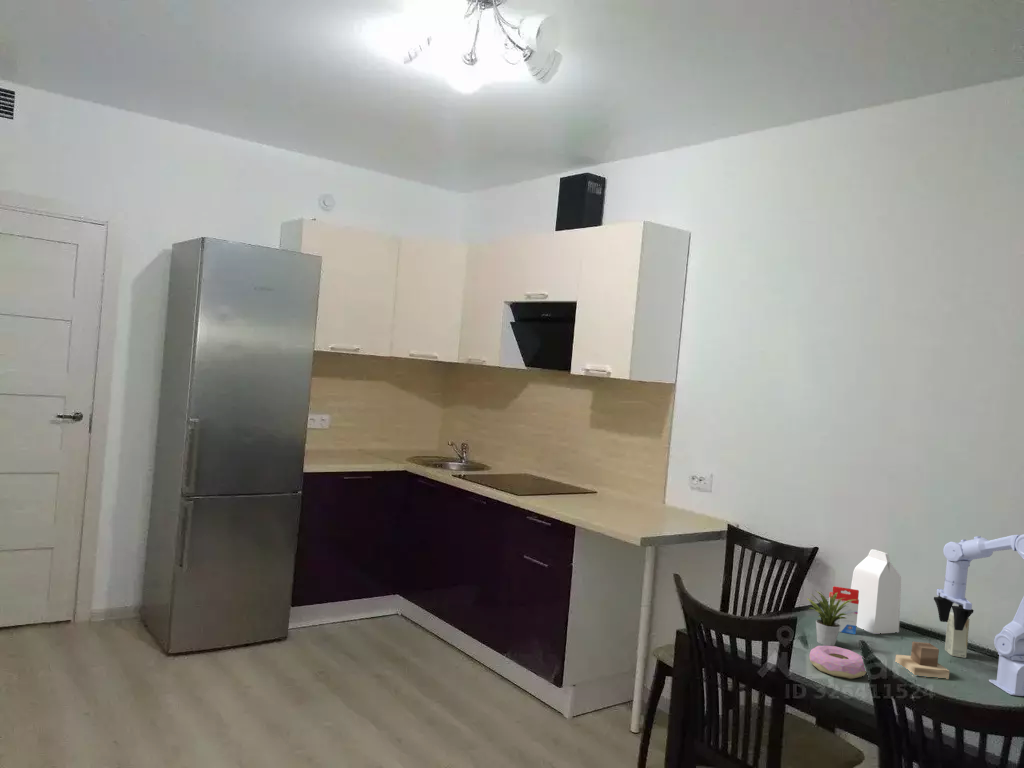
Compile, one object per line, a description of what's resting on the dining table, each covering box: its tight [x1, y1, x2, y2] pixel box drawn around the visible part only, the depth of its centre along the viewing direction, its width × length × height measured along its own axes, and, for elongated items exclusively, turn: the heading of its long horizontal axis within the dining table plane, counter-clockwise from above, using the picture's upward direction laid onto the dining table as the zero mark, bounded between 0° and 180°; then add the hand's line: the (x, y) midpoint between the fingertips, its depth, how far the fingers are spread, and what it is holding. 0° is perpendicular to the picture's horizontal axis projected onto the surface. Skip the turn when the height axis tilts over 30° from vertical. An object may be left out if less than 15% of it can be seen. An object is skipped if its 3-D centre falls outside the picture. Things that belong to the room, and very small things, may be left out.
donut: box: [808, 645, 867, 680], centre depth 213 cm, size 16×15×5 cm
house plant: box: [806, 590, 853, 646], centre depth 237 cm, size 14×14×16 cm
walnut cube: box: [910, 641, 940, 667], centre depth 219 cm, size 5×5×5 cm
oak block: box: [894, 654, 950, 680], centre depth 219 cm, size 10×10×3 cm
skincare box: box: [944, 611, 971, 659], centre depth 237 cm, size 6×4×12 cm
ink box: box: [828, 585, 859, 635], centre depth 251 cm, size 8×5×15 cm, turn 74°
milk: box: [850, 548, 902, 635], centre depth 258 cm, size 12×12×26 cm
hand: (950, 625), depth 231 cm, fingers open, 7 cm apart
